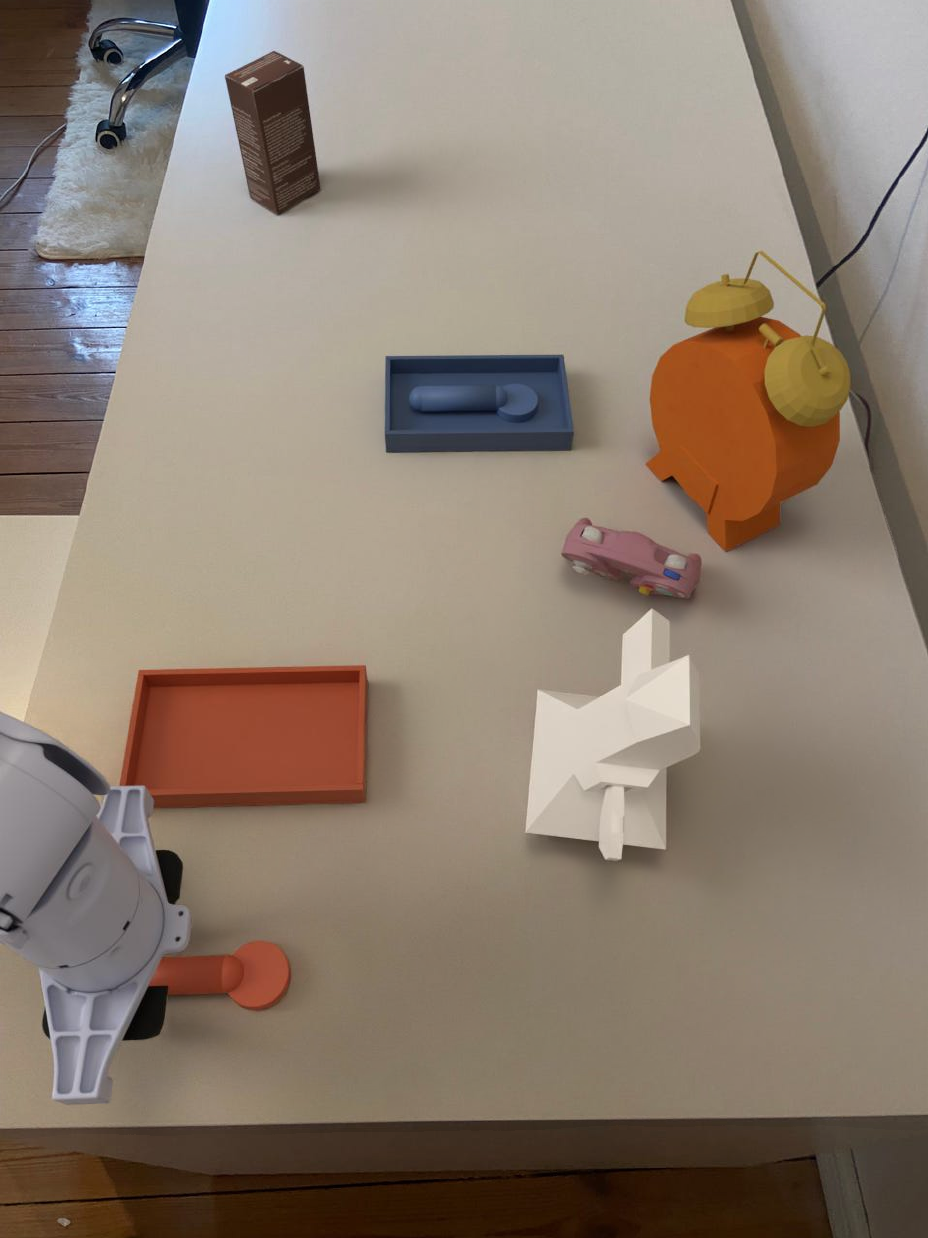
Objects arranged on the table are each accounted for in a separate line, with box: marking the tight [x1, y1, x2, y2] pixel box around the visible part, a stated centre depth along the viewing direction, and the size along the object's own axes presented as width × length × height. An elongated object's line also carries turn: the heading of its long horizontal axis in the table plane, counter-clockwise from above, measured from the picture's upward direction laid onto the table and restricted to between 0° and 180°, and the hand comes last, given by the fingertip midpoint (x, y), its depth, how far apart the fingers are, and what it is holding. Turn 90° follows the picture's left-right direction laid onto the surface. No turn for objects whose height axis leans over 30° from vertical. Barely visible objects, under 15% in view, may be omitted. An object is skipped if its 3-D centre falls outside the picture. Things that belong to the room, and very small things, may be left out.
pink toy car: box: [560, 517, 703, 599], centre depth 68 cm, size 10×5×7 cm, turn 68°
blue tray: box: [384, 354, 575, 453], centre depth 78 cm, size 15×9×2 cm, turn 92°
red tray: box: [118, 664, 369, 809], centre depth 62 cm, size 15×9×2 cm, turn 92°
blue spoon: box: [409, 384, 538, 422], centre depth 78 cm, size 10×4×2 cm, turn 92°
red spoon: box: [148, 940, 292, 1011], centre depth 54 cm, size 10×4×2 cm, turn 92°
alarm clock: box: [645, 250, 851, 553], centre depth 67 cm, size 13×6×20 cm, turn 31°
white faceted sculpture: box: [525, 608, 701, 862], centre depth 56 cm, size 8×14×14 cm, turn 173°
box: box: [224, 50, 321, 215], centre depth 90 cm, size 6×4×12 cm
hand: (150, 974), depth 53 cm, fingers open, 4 cm apart
